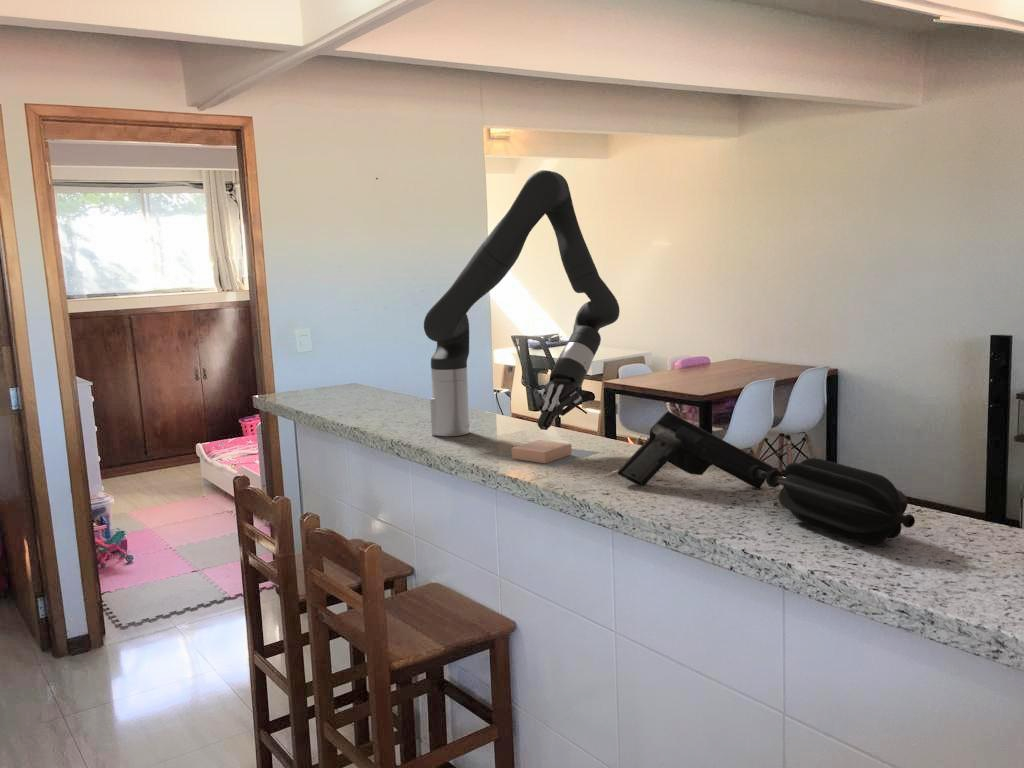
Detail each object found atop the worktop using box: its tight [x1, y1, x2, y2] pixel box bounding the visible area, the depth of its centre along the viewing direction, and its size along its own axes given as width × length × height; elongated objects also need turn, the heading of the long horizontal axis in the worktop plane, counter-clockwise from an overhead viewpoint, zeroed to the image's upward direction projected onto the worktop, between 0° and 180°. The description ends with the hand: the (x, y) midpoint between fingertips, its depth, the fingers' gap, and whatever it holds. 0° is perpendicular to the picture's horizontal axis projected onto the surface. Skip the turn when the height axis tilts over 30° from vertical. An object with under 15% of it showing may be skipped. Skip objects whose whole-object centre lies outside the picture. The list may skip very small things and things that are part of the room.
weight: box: [748, 457, 916, 545], centre depth 132 cm, size 34×10×10 cm, turn 23°
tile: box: [511, 439, 572, 463], centre depth 185 cm, size 9×3×10 cm
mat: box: [496, 448, 600, 468], centre depth 187 cm, size 16×17×1 cm
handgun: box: [617, 410, 773, 490], centre depth 158 cm, size 2×24×15 cm, turn 78°
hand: (542, 427), depth 185 cm, fingers closed
